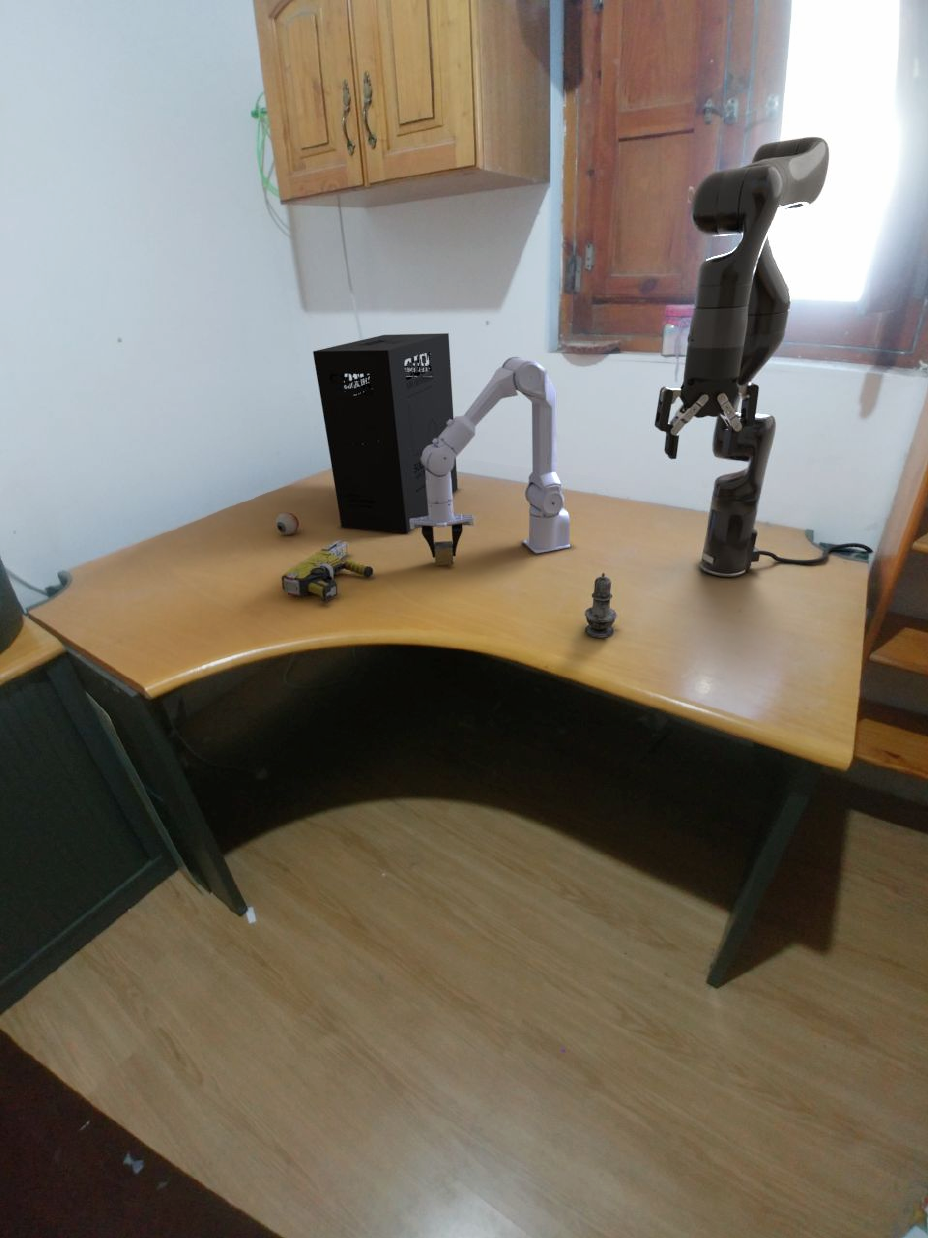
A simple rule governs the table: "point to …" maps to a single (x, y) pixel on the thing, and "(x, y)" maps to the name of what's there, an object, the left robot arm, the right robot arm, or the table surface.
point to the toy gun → (321, 572)
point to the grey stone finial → (600, 610)
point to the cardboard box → (384, 424)
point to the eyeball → (287, 523)
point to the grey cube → (443, 552)
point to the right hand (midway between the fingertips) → (699, 456)
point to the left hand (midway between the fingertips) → (444, 555)
